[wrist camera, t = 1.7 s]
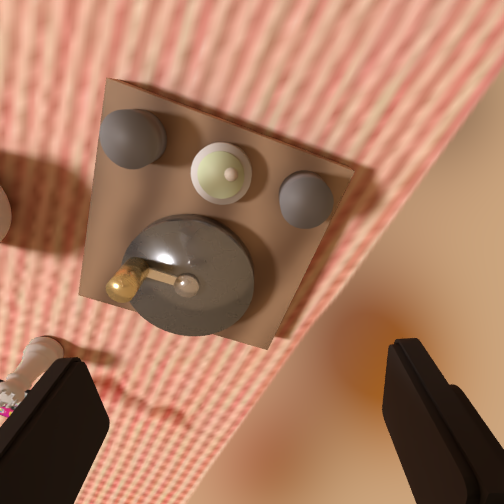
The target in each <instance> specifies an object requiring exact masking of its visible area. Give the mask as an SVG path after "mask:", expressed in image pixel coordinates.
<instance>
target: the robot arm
mask: <svg viewBox="0 0 504 504" xmlns="http://www.w3.org/2000/svg"><path fill="white" fill-rule="evenodd" d="M382 411H383V417H384V420H385V423H386V426H387V428H388V431H389V433H390V436H391V438H392V441H393V444H394V446H395V449H396V451H397V454H398V457H399V459H400V462H401V464H402V467H403V470H404V472H405V475H406V477H407V480H408V482H409V485H410V488H411V490H412V493H413V495H414V498H415V501H416V503H417V504H504V449H503V448H502V446H501V445H500V444H499V442H498V441H497V439H496V438H495V436H494V435H493V434H492V432H491V431H490V429H489V428H488V426H487V425H486V424H485V422H484V421H483V419H482V418H481V417H480V415H479V414H478V412H477V411H476V409H475V408H474V407H473V405H472V404H471V402H470V401H469V399H468V398H467V397H466V395H465V394H464V392H463V391H462V390H461V389H460V388H459V387H458V386H456V385H452V384H451V385H449V384H448V382H447V381H446V379H445V378H444V376H443V375H442V373H441V372H440V370H439V369H438V367H437V366H436V364H435V363H434V361H433V360H432V358H431V357H430V355H429V354H428V352H427V351H426V349H425V348H424V346H423V345H422V343H421V342H420V341H419V340H418V339H417V338H408V339H396V340H395V342H394V344H392V345H390V346H389V348H388V357H387V367H386V376H385V386H384V396H383V405H382ZM109 424H110V422H109V417H108V415H107V413H106V410H105V408H104V406H103V403H102V401H101V399H100V396H99V394H98V392H97V389H96V387H95V384H94V382H93V380H92V377H91V375H90V373H89V370H88V368H87V366H86V364H85V363H84V362H82V361H81V360H80V359H79V358H78V357H73V358H59V359H56V360H55V361H54V362H53V363H52V365H51V366H50V367H49V368H48V370H47V371H46V372H45V373H44V374H43V376H42V377H41V378H40V379H39V381H38V382H37V383H36V384H35V385H34V387H33V388H32V389H31V390H30V392H29V393H28V394H27V395H26V396H25V398H24V399H23V400H22V401H21V403H20V404H19V405H18V406H17V408H16V409H15V410H14V411H13V412H12V414H11V415H10V416H9V417H8V419H7V420H6V421H5V422H4V423H3V425H2V426H1V427H0V504H74V502H75V500H76V498H77V495H78V493H79V491H80V489H81V487H82V485H83V483H84V481H85V479H86V477H87V474H88V472H89V470H90V468H91V466H92V464H93V462H94V460H95V458H96V455H97V453H98V451H99V449H100V447H101V445H102V443H103V441H104V439H105V437H106V434H107V432H108V430H109Z"/></svg>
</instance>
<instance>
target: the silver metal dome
mask: <svg viewBox="0 0 504 504" xmlns="http://www.w3.org/2000/svg"><path fill="white" fill-rule="evenodd" d="M253 291H254V265H253V261H252V258H251V255H250V253H249V251H248V249H247V247H246V246H245V244H244V243H243V241H242V240H241V239H240V238H239V237H238V236H237V235H236V234H235V233H234V232H233V231H232V230H231V229H229V228H228V227H227V226H225V225H223V224H222V223H220V222H218V221H216V220H213V219H211V218H208V217H204V216H201V215H194V214H176V215H171V216H167V217H163V218H161V219H158V220H156V221H155V222H153V223H151V224H150V225H148V226H147V227H146V228H144V229H143V230H142V232H141V233H140V234H139V235H138V236H137V237H136V238H135V239H134V240H133V241H132V242H131V244H130V245H129V247H128V248H127V250H126V252H125V254H124V256H123V260H122V263H121V268H120V269H119V270H118V271H117V272H116V273H115V275H114V276H113V277H112V278H111V279H110V281H109V282H108V283H107V285H106V292H107V294H108V296H109V297H110V298H111V299H112V300H114V301H116V302H120V303H126V302H130V303H131V305H132V306H133V307H134V309H135V310H136V311H137V312H138V313H139V314H140V315H141V316H142V317H143V318H144V319H146V320H147V321H148V322H150V323H151V324H153V325H155V326H156V327H158V328H160V329H163V330H165V331H168V332H171V333H174V334H178V335H184V336H205V335H210V334H214V333H217V332H220V331H222V330H225V329H227V328H228V327H230V326H232V325H233V324H234V323H235V322H237V321H238V320H239V319H240V318H241V317H242V316H243V315H244V313H245V312H246V310H247V309H248V307H249V305H250V303H251V300H252V297H253Z"/></svg>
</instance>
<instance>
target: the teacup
mask: <svg viewBox="0 0 504 504" xmlns="http://www.w3.org/2000/svg"><path fill="white" fill-rule="evenodd" d="M11 218H12V214H11V207H10V203H9V200H8V198H7V196H6V194H5V192H4V190H3V188H2V187H1V186H0V242H1V241H2V240H3V238H4V237H5V236H6V234H7V232H8V231H9V228H10V225H11Z"/></svg>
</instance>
